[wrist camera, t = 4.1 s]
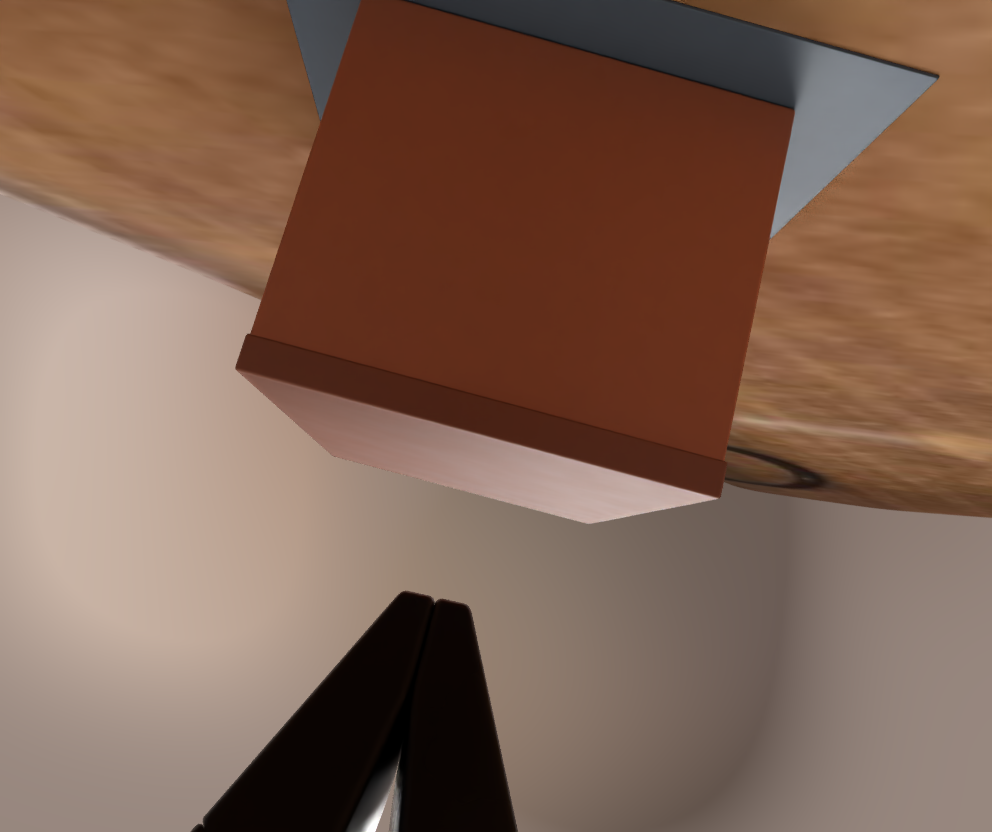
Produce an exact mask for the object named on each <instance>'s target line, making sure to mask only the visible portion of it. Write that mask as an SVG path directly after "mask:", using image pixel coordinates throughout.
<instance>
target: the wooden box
mask: <svg viewBox="0 0 992 832" xmlns="http://www.w3.org/2000/svg"><path fill="white" fill-rule="evenodd" d="M794 116H795V110H793V109H791V108H787V107H784V106H780V105H777V104H773V103H769V102H766V101H762V100H759V99H755V98H752V97H748V96H744V95H741V94H737V93H734V92H730V91H727V90H723V89H719V88H716V87H712V86H709V85H705V84H701V83H698V82H694V81H691V80H687V79H684V78H680V77H676V76H673V75H669V74H666V73H662V72H658V71H655V70H651V69H648V68H644V67H641V66H637V65H633V64H630V63H626V62H623V61H619V60H616V59H612V58H608V57H605V56H601V55H598V54H594V53H590V52H587V51H583V50H580V49H576V48H573V47H569V46H565V45H562V44H558V43H555V42H551V41H547V40H544V39H540V38H537V37H533V36H530V35H526V34H522V33H519V32H515V31H512V30H508V29H505V28H501V27H497V26H494V25H490V24H487V23H483V22H479V21H476V20H472V19H469V18H465V17H462V16H458V15H454V14H451V13H447V12H444V11H440V10H436V9H433V8H429V7H426V6H422V5H419V4H415V3H411V2H408V1H404V0H361V1H360V4H359V7H358V10H357V13H356V16H355V19H354V22H353V25H352V28H351V31H350V34H349V37H348V40H347V43H346V46H345V49H344V52H343V55H342V58H341V62H340V65H339V68H338V71H337V74H336V77H335V80H334V83H333V86H332V89H331V92H330V95H329V98H328V101H327V104H326V107H325V110H324V113H323V116H322V119H321V122H320V125H319V128H318V131H317V134H316V137H315V140H314V143H313V146H312V149H311V152H310V155H309V158H308V161H307V164H306V167H305V170H304V173H303V176H302V179H301V182H300V185H299V188H298V191H297V194H296V197H295V200H294V204H293V207H292V210H291V213H290V216H289V219H288V222H287V225H286V228H285V231H284V234H283V237H282V240H281V243H280V246H279V249H278V252H277V255H276V258H275V261H274V264H273V267H272V270H271V273H270V276H269V279H268V282H267V285H266V288H265V291H264V294H263V297H262V300H261V303H260V306H259V309H258V312H257V315H256V319H255V321H254V325H253V327H252V330H251V333H250V334H247V335H246V337H245V340H244V343H243V346H242V349H241V352H240V355H239V358H238V361H237V364H236V370H237V371H238V372H239V373H240V374H241V375H242V376H244V377H245V378H246V379H247V380H248V381H249V382H250V383H251V384H253V385H254V386H255V387H256V388H257V389H258V390H259V391H260V392H262V393H263V394H264V395H265V396H266V397H267V398H268V399H269V400H271V401H272V402H273V403H274V404H275V405H276V406H277V407H278V408H279V409H281V410H282V411H283V412H284V413H285V414H286V415H287V416H288V417H290V418H291V419H292V420H293V421H294V422H295V423H296V424H297V425H298V426H300V427H301V428H302V429H303V430H304V431H305V432H306V433H307V434H309V435H310V436H311V437H312V438H313V439H314V440H315V441H316V442H318V443H319V444H320V445H321V446H322V447H323V448H324V449H325V450H326V451H328V452H329V453H330V454H331V455H332V456H334V457H338V458H342V459H345V460H349V461H353V462H357V463H360V464H364V465H368V466H372V467H376V468H379V469H383V470H387V471H391V472H395V473H398V474H402V475H406V476H410V477H413V478H417V479H421V480H425V481H428V482H432V483H436V484H440V485H443V486H447V487H451V488H455V489H459V490H462V491H466V492H470V493H474V494H477V495H481V496H485V497H489V498H492V499H496V500H500V501H504V502H508V503H511V504H515V505H519V506H523V507H527V508H530V509H534V510H538V511H542V512H545V513H549V514H553V515H557V516H560V517H564V518H568V519H572V520H575V521H579V522H583V523H587V524H591V523H597V522H602V521H607V520H612V519H617V518H622V517H628V516H633V515H637V514H642V513H648V512H653V511H658V510H663V509H669V508H673V507H679V506H684V505H689V504H694V503H699V502H704V501H709V500H715V499H719V498H720V497H721V493H722V488H723V483H724V478H725V473H726V468H727V462H725V461H724V460H725V455H726V450H727V445H728V440H729V435H730V430H731V425H732V420H733V416H734V411H735V406H736V401H737V396H738V391H739V386H740V381H741V376H742V371H743V366H744V362H745V357H746V352H747V347H748V342H749V337H750V332H751V327H752V322H753V317H754V313H755V308H756V303H757V298H758V293H759V288H760V283H761V278H762V273H763V268H764V264H765V259H766V254H767V249H768V244H769V239H770V234H771V229H772V224H773V219H774V215H775V210H776V205H777V200H778V195H779V190H780V185H781V180H782V175H783V170H784V166H785V161H786V156H787V151H788V146H789V141H790V136H791V131H792V126H793V121H794Z"/></svg>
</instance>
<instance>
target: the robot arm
mask: <svg viewBox="0 0 992 832" xmlns="http://www.w3.org/2000/svg"><path fill="white" fill-rule="evenodd" d="M434 604H435V605H434ZM398 762H399V764H398ZM397 766H398V770H397ZM396 770H397V775H396V781H395V788H394V795H393V803H392V811H391V818H390V828H389V832H518V830H517V825H516V820H515V816H514V811H513V807H512V801H511V797H510V792H509V787H508V782H507V778H506V773H505V768H504V764H503V759H502V754H501V749H500V745H499V740H498V735H497V731H496V727H495V722H494V716H493V712H492V707H491V703H490V697H489V694H488V688H487V683H486V679H485V674H484V669H483V664H482V660H481V655H480V650H479V646H478V641H477V636H476V631H475V627H474V622H473V617H472V613H471V610H470V608H469V606H468V605H466V604H464V603H459V602H455V601H450V600H446V599H439V600H437V601H436V602H435V601H434V599H433V598H432V597H431V596H428V595H424V594H419V593H415V592H410V591H403V592H401V593H400V594H399V595H398V596H397V597H396V598H395V599H394V600H393V601H392V602H391V604H389V606H388V607H387V608H386V609H385V610H384V611H383V612H382V614H381V615H380V616H379V617H378V618H377V619H376V620H375V622H374V623H373V624H372V625H371V626H370V627H369V628H368V630H367V631H366V632H365V633H364V634H363V636H362V637H361V638H360V639H359V640H358V641H357V642H356V643H355V645H354V646H353V647H352V648H351V649H350V650H349V651H348V653H347V654H346V655H345V656H344V657H343V658H342V660H341V661H340V662H339V663H338V664H337V665H336V666H335V667H334V669H333V670H332V671H331V672H330V673H329V674H328V675H327V677H326V678H325V679H324V680H323V681H322V682H321V683H320V685H319V686H318V687H317V688H316V689H315V690H314V692H313V693H312V694H311V695H310V696H309V697H308V698H307V700H306V701H305V702H304V703H303V704H302V705H301V707H300V708H299V709H298V710H297V711H296V712H295V713H294V714H293V716H292V717H291V718H290V719H289V720H288V721H287V722H286V724H285V725H284V726H283V727H282V728H281V729H280V730H279V732H278V733H277V734H276V735H275V736H274V737H273V738H272V740H271V741H270V742H269V743H268V744H267V745H266V747H265V748H264V749H263V750H262V751H261V752H260V753H259V754H258V756H257V757H256V758H255V759H254V760H253V761H252V763H251V764H250V765H249V766H248V767H247V768H246V769H245V770H244V772H243V773H242V774H241V775H240V776H239V777H238V779H237V780H236V781H235V782H234V783H233V784H232V785H231V787H230V788H229V789H228V790H227V791H226V792H225V793H224V795H223V796H222V797H221V798H220V799H219V800H218V801H217V803H216V804H215V805H214V806H213V807H212V808H211V809H210V811H209V812H208V813H207V814H206V815H205V816H204V818H203V825H202V824H198V825H196V826H195V827H194V828H193V829H192V831H191V832H375V831H376V828H377V825H378V822H379V819H380V817H381V814H382V811H383V809H384V806H385V803H386V801H387V798H388V795H389V792H390V789H391V786H392V783H393V780H394V777H395V773H396Z"/></svg>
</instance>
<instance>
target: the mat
mask: <svg viewBox="0 0 992 832" xmlns="http://www.w3.org/2000/svg"><path fill="white" fill-rule="evenodd" d="M360 1H361V0H287V4H288V7H289V11H290V14H291V18H292V22H293V25H294V29H295V32H296V36H297V39H298V43H299V47H300V50H301V54H302V57H303V61H304V64H305V68H306V72H307V75H308V79H309V82H310V86H311V89H312V93H313V97H314V100H315V104H316V107H317V111H318V114H319V118H320V122H321V119H322V116H323V113H324V110H325V107H326V104H327V101H328V98H329V95H330V92H331V89H332V86H333V83H334V80H335V77H336V74H337V71H338V68H339V65H340V62H341V58H342V55H343V52H344V49H345V46H346V43H347V40H348V37H349V34H350V31H351V28H352V25H353V22H354V19H355V16H356V13H357V10H358V7H359V4H360ZM404 1H408V2H411V3H415V4H419V5H422V6H426V7H429V8H433V9H436V10H440V11H444V12H447V13H451V14H454V15H458V16H462V17H465V18H469V19H472V20H476V21H479V22H483V23H487V24H490V25H494V26H497V27H501V28H505V29H508V30H512V31H515V32H519V33H522V34H526V35H530V36H533V37H537V38H540V39H544V40H547V41H551V42H555V43H558V44H562V45H565V46H569V47H573V48H576V49H580V50H583V51H587V52H590V53H594V54H598V55H601V56H605V57H608V58H612V59H616V60H619V61H623V62H626V63H630V64H633V65H637V66H641V67H644V68H648V69H651V70H655V71H658V72H662V73H666V74H669V75H673V76H676V77H680V78H684V79H687V80H691V81H694V82H698V83H701V84H705V85H709V86H712V87H716V88H719V89H723V90H727V91H730V92H734V93H737V94H741V95H744V96H748V97H752V98H755V99H759V100H762V101H766V102H769V103H773V104H777V105H780V106H784V107H787V108H791V109H793V110H795V116H794V121H793V126H792V131H791V136H790V141H789V146H788V151H787V156H786V161H785V166H784V170H783V175H782V180H781V185H780V190H779V195H778V200H777V205H776V210H775V215H774V219H773V224H772V229H771V234H770V239H771V238H772V237H773V236H774V235H775V234H776V233H777V232H778V231H779V230H780V229H781V228H782V227H783V226H784V225H786V224H787V223H788V222H789V221H790V220H791V219H792V218H793V217H794V216H795V215H796V214H797V213H798V212H799V211H800V210H801V209H802V208H803V207H804V206H805V205H807V204H808V203H809V202H810V201H811V200H812V199H813V198H814V197H815V196H816V195H817V194H818V193H819V192H820V191H821V190H822V189H823V188H824V187H825V186H826V185H827V184H829V183H830V182H831V181H832V180H833V179H834V178H835V177H836V176H837V175H838V174H839V173H840V172H841V171H842V170H843V169H844V168H845V167H846V166H847V165H848V164H850V163H851V162H852V161H853V160H854V159H855V158H856V157H857V156H858V155H859V154H860V153H861V152H862V151H863V150H864V149H865V148H866V147H867V146H868V145H869V144H870V143H872V142H873V141H874V140H875V139H876V138H877V137H878V136H879V135H880V134H881V133H882V132H883V131H884V130H885V129H886V128H887V127H888V126H889V125H890V124H891V123H892V122H894V121H895V120H896V119H897V118H898V117H899V116H900V115H901V114H902V113H903V112H904V111H905V110H906V109H907V108H908V107H909V106H910V105H911V104H912V103H913V102H915V101H916V100H917V99H918V98H919V97H920V96H921V95H922V94H923V93H924V92H925V91H926V90H927V89H928V88H929V87H930V86H931V85H932V84H933V83H934V82H935V81H937V80H938V78H939V76H938V75H935V74H931V73H928V72H924V71H921V70H917V69H914V68H910V67H907V66H903V65H900V64H896V63H892V62H889V61H885V60H882V59H878V58H875V57H871V56H868V55H864V54H860V53H857V52H853V51H850V50H846V49H843V48H839V47H836V46H832V45H828V44H825V43H821V42H818V41H814V40H811V39H807V38H804V37H800V36H797V35H793V34H789V33H786V32H782V31H779V30H775V29H772V28H768V27H765V26H761V25H757V24H754V23H750V22H747V21H743V20H740V19H736V18H733V17H729V16H725V15H722V14H718V13H715V12H711V11H708V10H704V9H701V8H697V7H693V6H690V5H686V4H683V3H679V2H676V1H672V0H404ZM770 239H769V240H770Z"/></svg>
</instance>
